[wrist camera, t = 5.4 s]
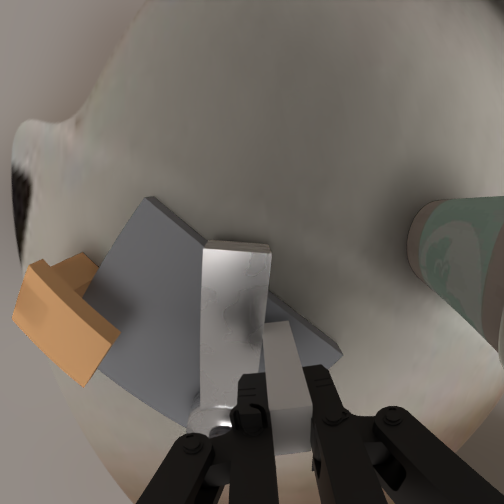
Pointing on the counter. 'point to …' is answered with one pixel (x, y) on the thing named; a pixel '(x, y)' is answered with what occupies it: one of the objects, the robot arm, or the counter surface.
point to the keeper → (64, 316)
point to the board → (170, 312)
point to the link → (228, 328)
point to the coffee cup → (464, 260)
